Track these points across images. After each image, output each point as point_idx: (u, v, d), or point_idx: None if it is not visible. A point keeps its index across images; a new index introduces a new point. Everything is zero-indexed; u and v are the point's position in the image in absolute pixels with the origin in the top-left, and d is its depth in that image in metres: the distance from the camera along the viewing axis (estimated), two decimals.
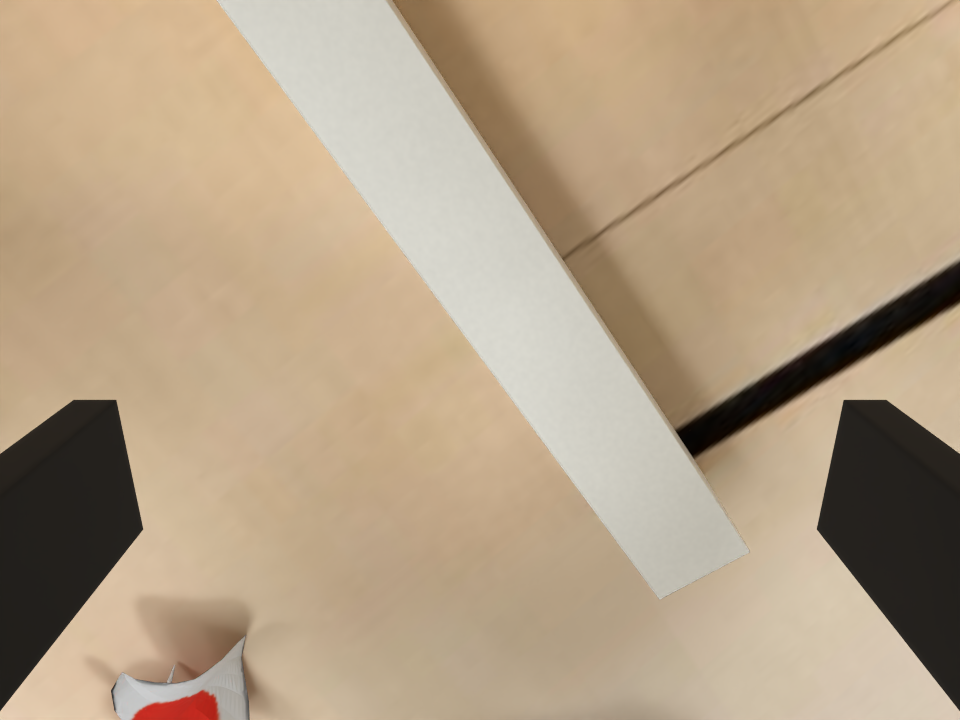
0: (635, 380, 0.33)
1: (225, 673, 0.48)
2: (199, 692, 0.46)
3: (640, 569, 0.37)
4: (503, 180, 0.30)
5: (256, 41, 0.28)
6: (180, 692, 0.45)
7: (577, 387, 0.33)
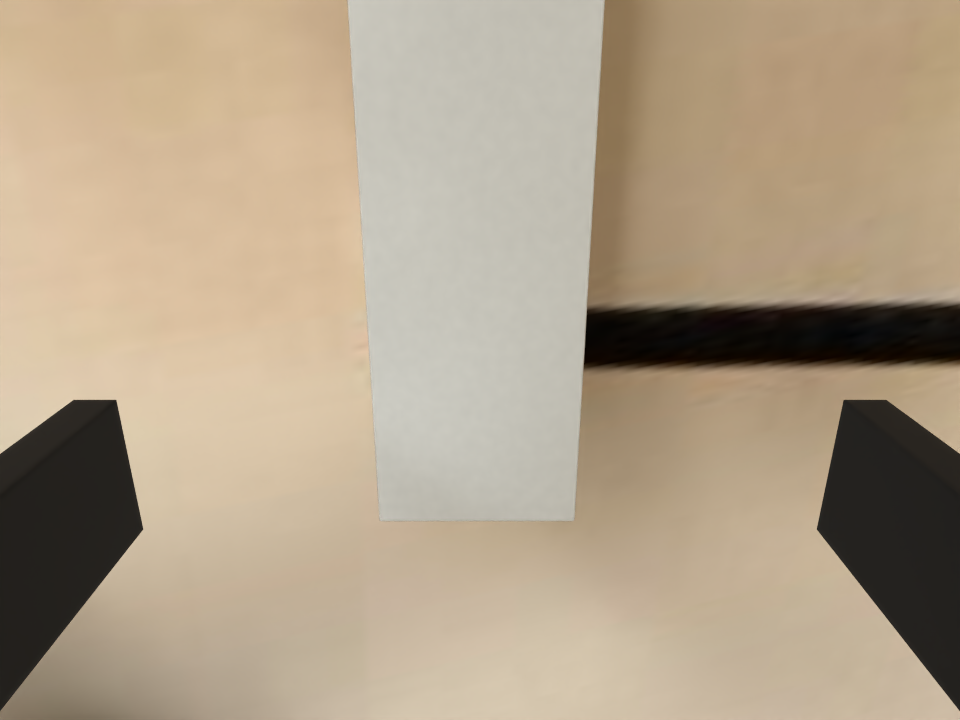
0: (598, 54, 0.15)
1: None
2: None
3: (381, 446, 0.19)
4: None
5: None
6: None
7: None
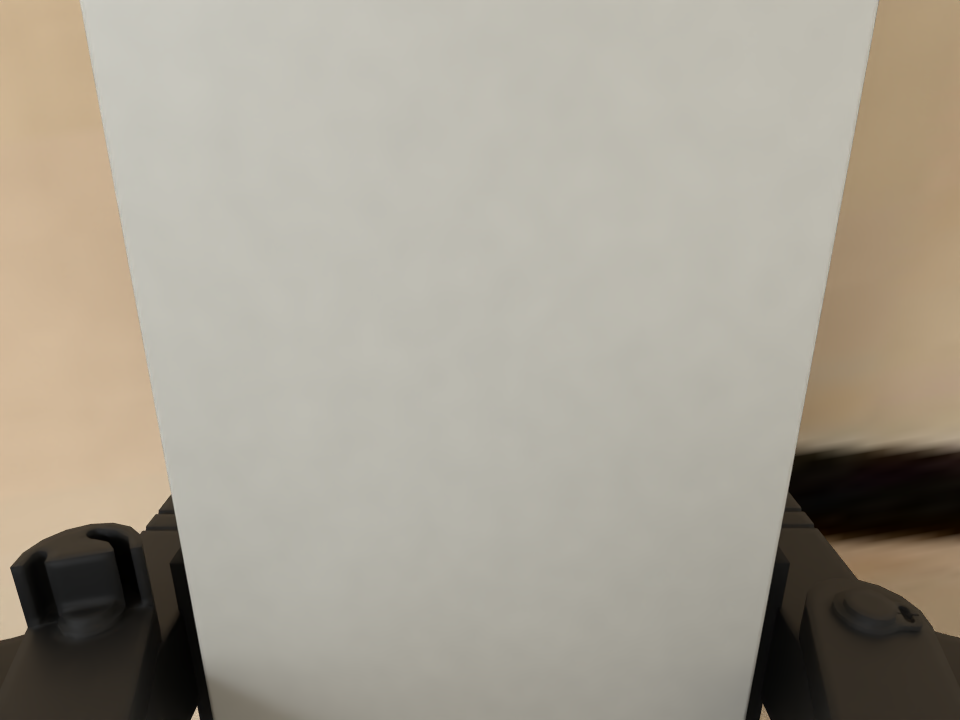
0: None
1: None
2: None
3: None
4: None
5: None
6: None
7: None
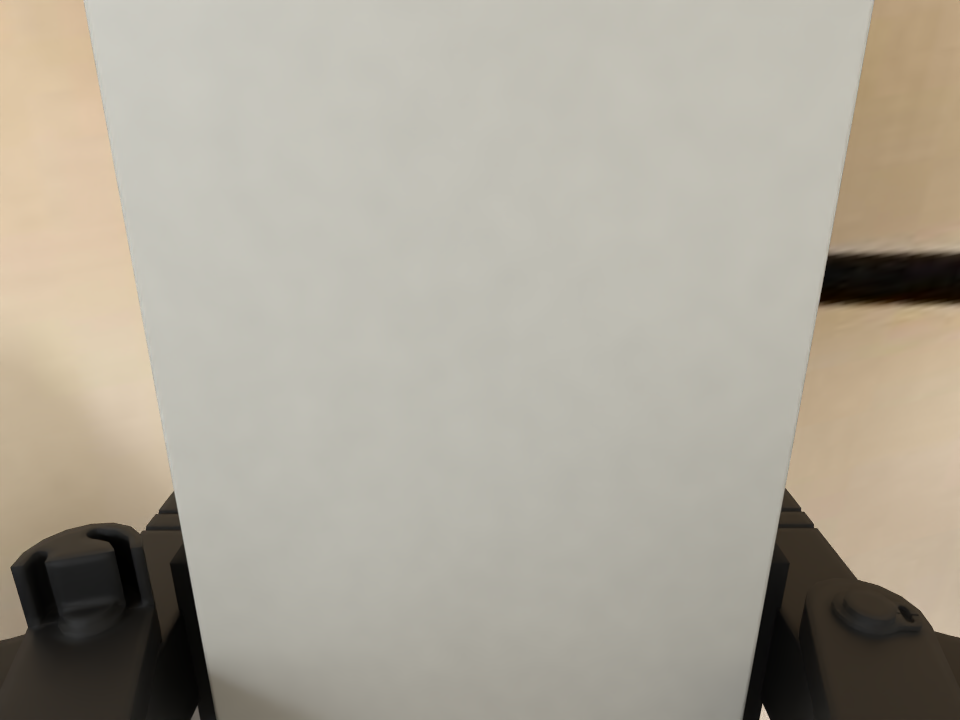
0: None
1: None
2: None
3: None
4: None
5: None
6: None
7: None
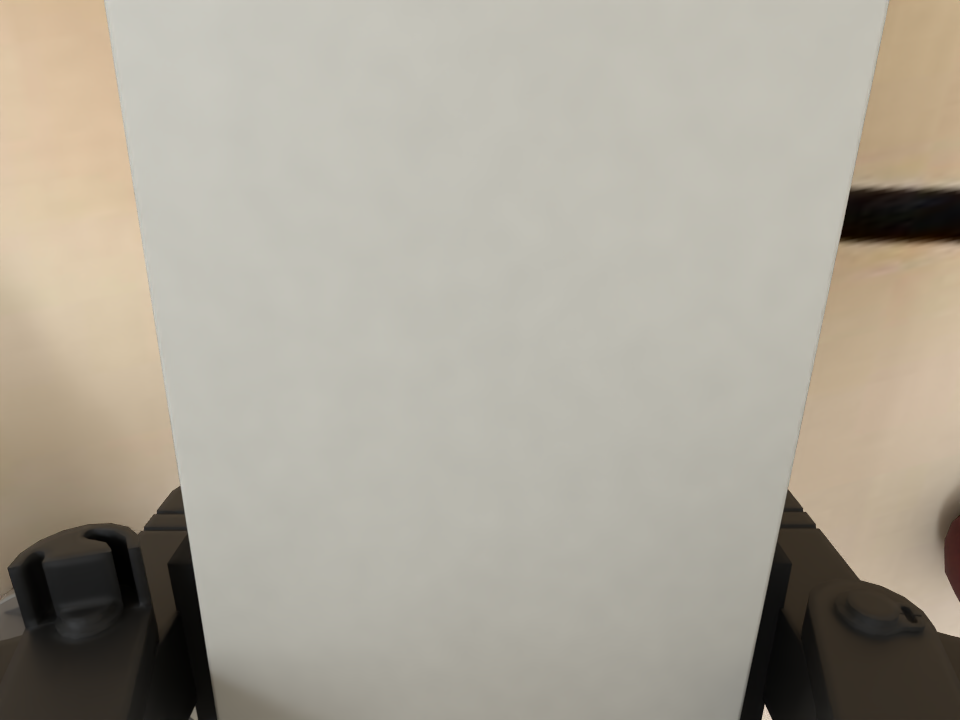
0: None
1: None
2: None
3: None
4: None
5: None
6: None
7: None
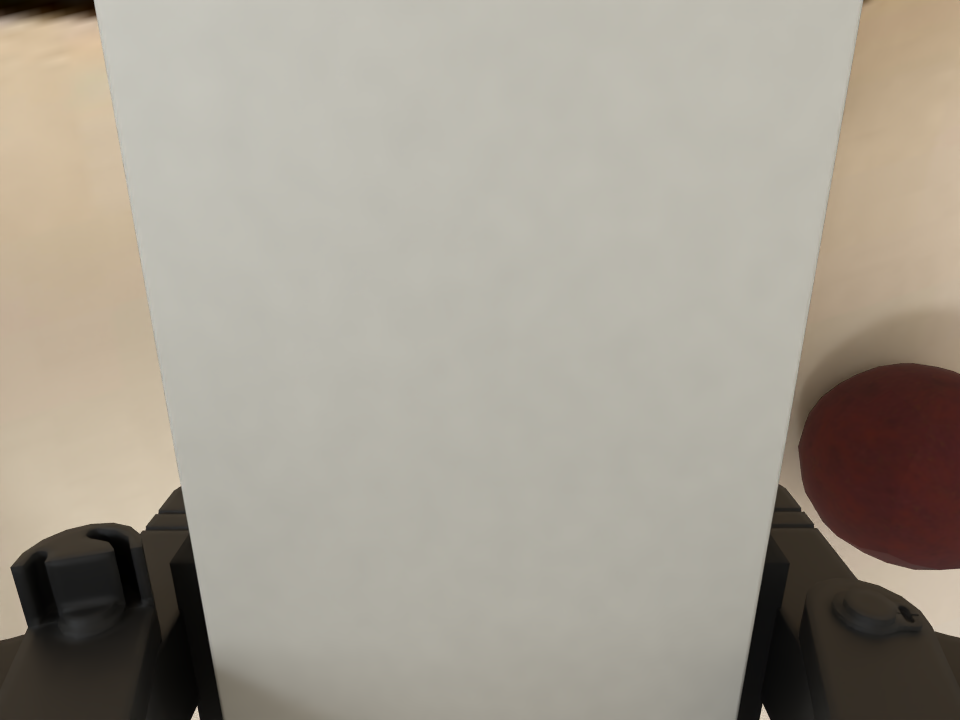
0: None
1: None
2: None
3: None
4: None
5: None
6: None
7: None
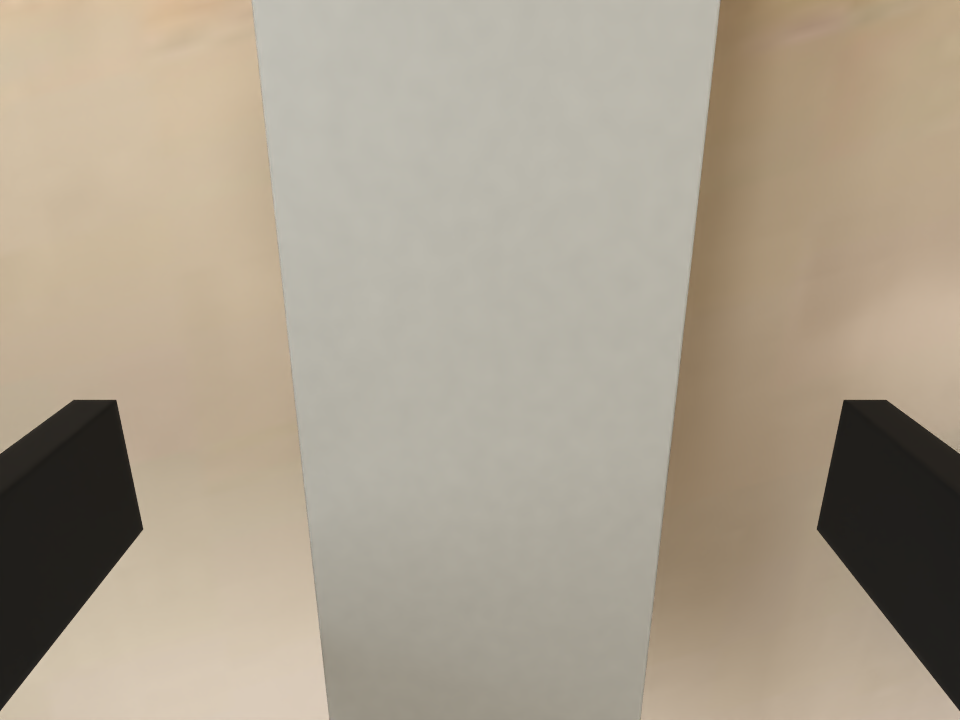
0: (713, 19, 0.08)
1: None
2: None
3: (331, 655, 0.12)
4: None
5: None
6: None
7: None
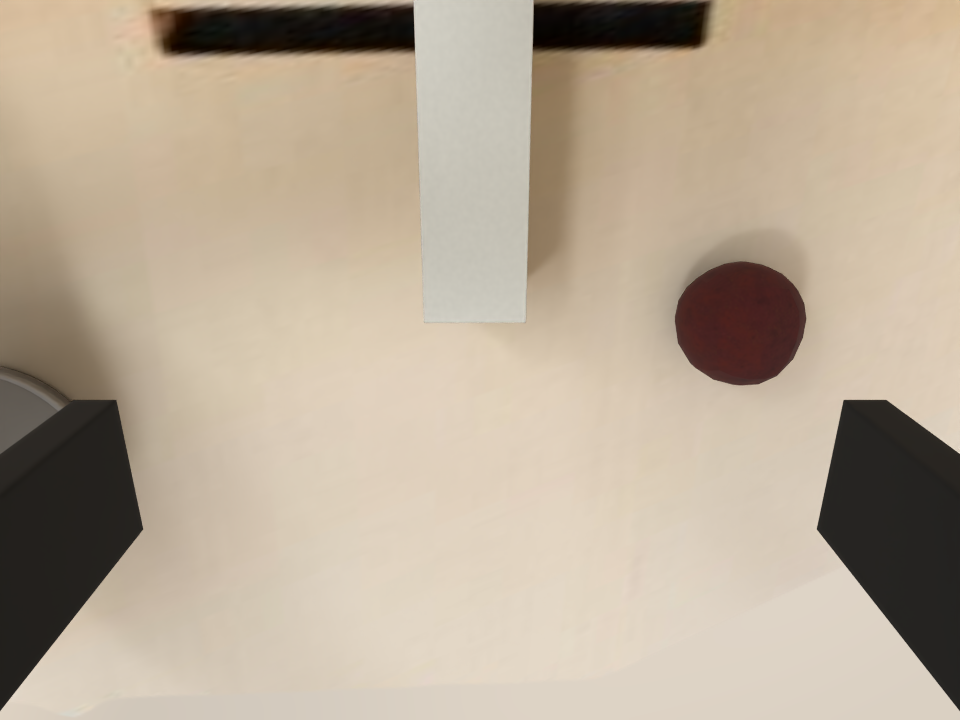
0: (530, 82, 0.33)
1: None
2: None
3: (425, 280, 0.36)
4: None
5: None
6: None
7: (478, 53, 0.32)
